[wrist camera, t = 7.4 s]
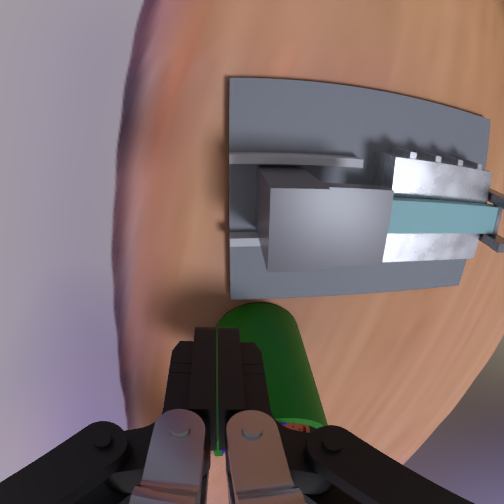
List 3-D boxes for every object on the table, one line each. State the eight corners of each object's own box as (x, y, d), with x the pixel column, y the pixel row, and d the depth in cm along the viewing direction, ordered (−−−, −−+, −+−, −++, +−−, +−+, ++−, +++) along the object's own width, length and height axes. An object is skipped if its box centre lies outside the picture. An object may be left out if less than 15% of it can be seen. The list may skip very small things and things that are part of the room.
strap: (491, 231, 29) (498, 235, 27) (373, 231, 27) (379, 236, 26) (497, 203, 27) (504, 206, 26) (378, 194, 25) (385, 198, 24)
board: (453, 280, 37) (464, 291, 35) (230, 293, 35) (230, 308, 32) (484, 118, 28) (499, 121, 25) (229, 79, 26) (230, 75, 23)
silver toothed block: (468, 244, 34) (504, 270, 27) (364, 245, 32) (394, 278, 26) (484, 162, 29) (526, 177, 23) (376, 144, 28) (415, 156, 21)
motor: (216, 361, 39) (219, 507, 21) (210, 304, 35) (206, 468, 17) (295, 356, 40) (333, 495, 22) (300, 299, 36) (356, 452, 18)
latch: (347, 227, 31) (384, 268, 23) (255, 228, 30) (267, 272, 23) (353, 169, 29) (398, 192, 21) (257, 165, 28) (270, 188, 20)
